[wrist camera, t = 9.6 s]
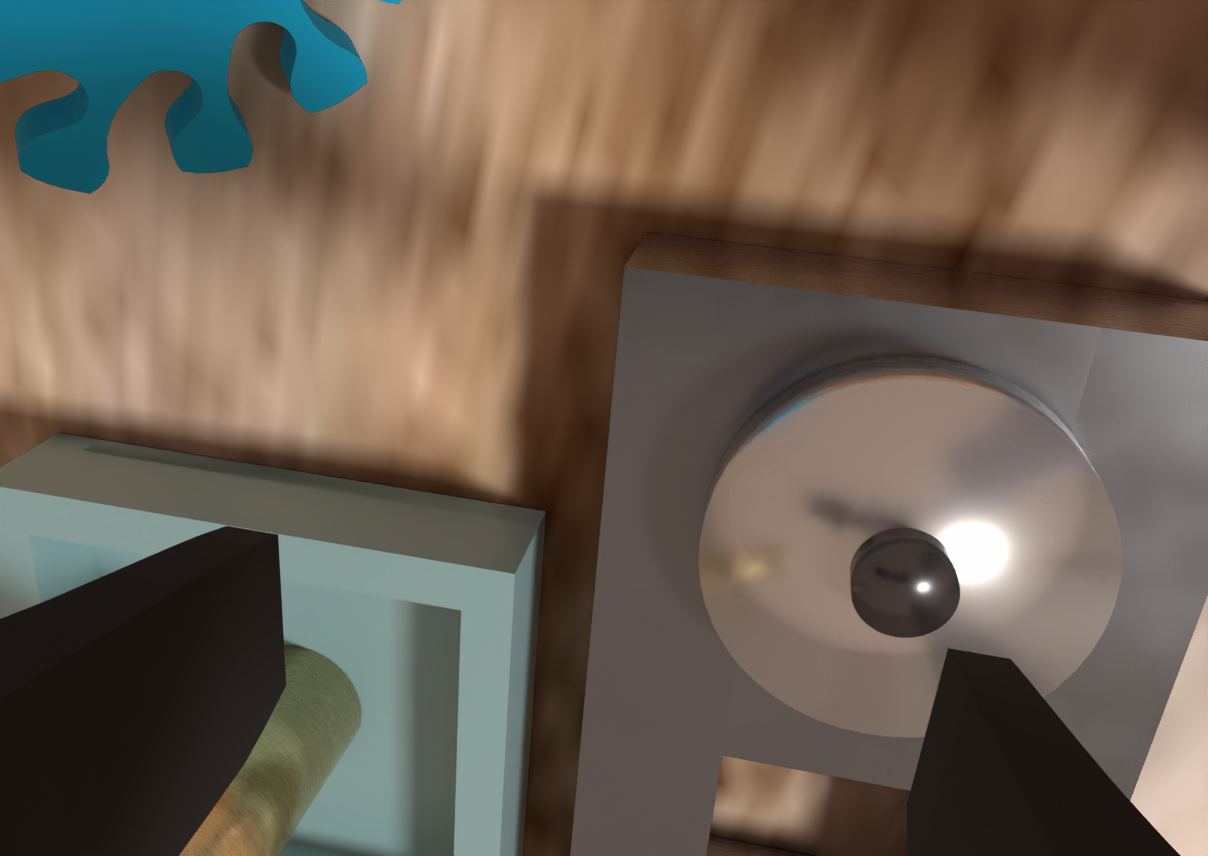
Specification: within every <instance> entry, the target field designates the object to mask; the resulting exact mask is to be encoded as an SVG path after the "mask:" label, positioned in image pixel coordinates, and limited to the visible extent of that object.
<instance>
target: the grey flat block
mask: <svg viewBox="0 0 1208 856" xmlns="http://www.w3.org/2000/svg"><path fill="white" fill-rule="evenodd" d="M1207 595H1208V301H1202V300H1194V299H1186V298H1177V297H1169V296H1161V295H1153V294H1145V293H1137V292H1129V291H1121V290H1112V289H1104V288H1096V287H1088V286H1080V285H1072V284H1064V283H1056V282H1047V281H1039V280H1031V279H1023V278H1015V277H1007V276H999V275H991V274H982V273H974V272H966V271H958V270H950V269H942V268H934V267H926V266H917V265H909V264H901V263H893V262H885V261H877V260H869V259H860V258H852V257H844V256H836V255H828V254H820V253H812V252H804V251H795V250H787V249H779V248H771V247H763V246H755V245H747V244H739V243H730V242H722V241H714V240H706V239H698V238H690V237H682V236H674V235H665V234H657V233H649V232H646V234H645V235H644V237H643V238H642V240H641V241H640V243H639V245H638V246H637V248H636V249H635V251H634V252H633V254H632V255H631V257H630V258H629V260H628V262H627V263H626V265H625V266H624V274H623V285H622V296H621V307H620V318H619V329H618V340H617V351H616V362H615V373H614V384H613V395H612V405H611V416H610V427H609V438H608V449H607V460H606V471H605V482H604V493H603V504H602V515H601V526H600V536H599V547H598V558H597V569H596V580H595V591H594V602H593V613H592V624H591V635H590V646H589V657H588V667H587V678H586V689H585V700H584V711H583V722H582V733H581V744H580V755H579V766H578V777H577V788H576V799H575V809H574V820H573V831H572V842H571V853H570V856H811V855H806V854H801V853H795V852H790V851H785V850H780V849H775V848H770V847H765V846H760V845H755V844H750V843H745V842H740V841H735V840H730V839H725V838H720V837H715V836H710V829H711V823H712V817H713V811H714V804H715V798H716V792H717V786H718V780H719V774H720V768H721V762H722V756H728V757H733V758H739V759H744V760H749V761H755V762H760V763H765V764H771V765H776V766H781V767H787V768H792V769H797V770H802V771H808V772H813V773H818V774H824V775H829V776H834V777H840V778H845V779H850V780H856V781H861V782H866V783H872V784H877V785H882V786H888V787H893V788H898V789H904V790H909V791H911V787H912V783H913V779H914V776H915V772H916V768H917V764H918V760H919V757H920V753H921V749H922V745H923V741H924V738H925V734H926V730H927V726H928V722H929V718H930V715H931V711H932V707H933V703H934V699H935V696H936V692H937V688H938V684H939V680H940V677H941V673H942V669H943V665H944V661H945V658H946V654H947V650H948V648H950V649H956V650H962V651H968V652H974V653H979V654H985V655H991V656H997V657H1003V658H1009V659H1011V660H1012V661H1013V662H1014V663H1015V664H1016V666H1017V667H1018V668H1019V669H1020V670H1021V671H1022V673H1023V674H1024V675H1025V676H1026V677H1027V679H1028V680H1029V681H1030V682H1031V683H1032V685H1033V686H1034V687H1035V688H1036V690H1037V691H1038V692H1039V693H1040V694H1041V696H1042V697H1043V698H1044V699H1045V701H1046V702H1047V703H1048V704H1049V706H1050V707H1051V708H1052V709H1053V710H1054V712H1055V713H1056V714H1057V715H1058V717H1059V718H1060V719H1061V720H1062V721H1063V723H1064V724H1065V725H1066V726H1067V728H1068V729H1069V730H1070V731H1071V732H1072V734H1073V735H1074V736H1075V737H1076V738H1077V740H1078V741H1079V742H1080V743H1081V744H1082V746H1083V747H1084V748H1085V749H1086V750H1087V752H1088V753H1089V754H1090V755H1091V756H1092V758H1093V759H1094V760H1095V761H1096V762H1097V763H1098V765H1099V766H1100V767H1101V768H1102V769H1103V771H1104V772H1105V773H1106V774H1107V775H1108V776H1109V778H1110V779H1111V780H1112V781H1113V782H1114V783H1115V784H1116V786H1117V787H1118V788H1119V789H1120V790H1121V791H1122V793H1123V794H1124V795H1125V796H1126V797H1127V798H1128V799H1129V800H1130V799H1131V797H1132V794H1133V791H1134V789H1135V786H1136V784H1137V781H1138V778H1139V776H1140V773H1141V770H1142V768H1143V765H1144V762H1145V760H1146V757H1147V754H1148V752H1149V749H1150V746H1151V744H1152V741H1153V738H1154V736H1155V733H1156V731H1157V728H1158V725H1159V723H1160V720H1161V717H1162V715H1163V712H1164V709H1165V707H1166V704H1167V701H1168V699H1169V696H1170V693H1171V691H1172V688H1173V685H1174V683H1175V680H1176V678H1177V675H1178V672H1179V670H1180V667H1181V664H1182V662H1183V659H1184V656H1185V654H1186V651H1187V648H1188V646H1189V643H1190V640H1191V638H1192V635H1193V632H1194V630H1195V627H1196V625H1197V622H1198V619H1199V617H1200V614H1201V611H1202V609H1203V606H1204V603H1205V601H1206V598H1207Z"/></svg>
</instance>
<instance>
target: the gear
mask: <svg viewBox="0 0 1208 856" xmlns="http://www.w3.org/2000/svg"><path fill="white" fill-rule="evenodd" d="M380 1H383V2H387V3H393V4H399V3H400V2H401V1H402V0H380ZM257 22H272V23H276V24H278V25H280V26H283V27H284V28H285V31H284V35H283V40H282V44H281V48H280V56H279V58H280V65H281V67H282V70H283V72H284V75H285V77H286V79H287V82H288V84H289V86H290V89H291V91H292V94H293V96H294V98H295V100H296V101H297V102H298V104H299V105H300V106H302V107H303V108H304V109H305V110H307V111H309V112H311V113H313V112H317V111H320V110H324V109H327V108H329V107H331V106H333V105H335V104H337V103H339V102H341V101H342V100H344V99H345V98H347V97H349V96H350V95H352V94H353V93H354V92H356V91H357V90H358V89H360V88H361V87H362V86H364V85H365V84H366V83H367V74H366V71H365V68H364V65H363V63H362V61H361V59H360V57H359V55H358V53H357V51H356V49H355V47H354V45H353V43H352V41H351V40H350V38H349V37H348V35H347V34H346V33H345V32H344V31H343V30H342V29H341V28H339V27H338V26H336V25H334V24H332V23H330V22H328V21H326V20H325V19H323V18H322V17H321V16H319V15H318V14H317V13H315V12H314V11H313V10H312V9H311V8H310V7H309V6H308V5H307V4H306V3H305V2H304V1H303V0H0V83H2V82H4V81H7V80H9V79H13V78H16V77H19V76H23V75H26V74H29V73H33V72H37V71H42V70H54V71H58V72H63V73H65V74H67V75H70V76H71V77H73V78H74V79H76V80H77V81H78V82H79V83H80V84H79V86H78V87H77V88H76V90H75V91H73V92H72V93H71V94H69V95H67V96H65V97H62V98H59V99H56V100H52V101H49V102H46V103H43V104H39V105H37V106H35V107H32V108H30V109H29V110H28V111H26V112H25V113H24V114H23V115H22V116H21V117H20V118H19V120H18V122H17V124H16V128H15V138H16V144H17V151H18V157H19V163H20V169H21V171H22V172H24V173H26V174H27V175H29V176H31V177H33V178H34V179H37V180H39V181H42V182H45V183H47V184H50V185H54V186H57V187H61V188H65V189H69V190H74V191H79V192H84V193H89V194H90V193H92V192H93V191H95V190H97V189H98V188H99V187H100V186H101V185H102V184H103V183H104V182H105V180H106V177H107V175H108V171H109V162H108V157H107V136H108V132H109V128H110V124H111V122H112V120H113V118H114V116H115V114H116V112H117V110H118V108H119V107H120V106H121V104H122V103H123V102H124V100H125V99H126V98H127V97H128V95H129V94H130V93H131V92H132V91H133V90H134V89H135V88H136V87H137V86H138V85H139V84H140V83H141V82H142V81H143V80H144V79H145V78H146V77H147V76H149V75H151V74H153V73H155V72H159V71H163V70H173V71H179V72H182V73H184V74H187V75H189V76H190V77H191V78H193V80H192V83H191V84H190V86H189V87H188V88H187V89H186V90H185V92H184V93H183V94H182V95H181V96H180V97H179V98H178V99H177V100H176V101H175V102H174V103H173V104H172V106H171V107H170V108H169V110H168V112H167V115H166V119H165V127H166V132H167V135H168V139H169V142H170V146H171V149H172V152H173V156H174V159H175V161H176V163H177V165H178V167H179V168H180V169H181V170H182V171H185V172H193V173H213V172H222V171H228V170H233V169H238V168H243V167H247V166H248V164H249V163H250V161H251V158H252V154H253V147H252V142H251V139H250V136H249V133H248V131H247V128H246V125H245V122H244V120H243V117H242V115H241V112H240V110H239V108H238V107H237V105H236V104H235V103H234V102H233V100H232V99H231V98H230V96H229V94H228V87H227V75H228V66H229V61H230V55H231V50H232V45H233V42H234V40H235V38H236V36H237V35H238V33H239V32H240V31H241V30H242V29H244V28H245V27H247V26H249V25H251V24H253V23H257Z"/></svg>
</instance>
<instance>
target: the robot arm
mask: <svg viewBox="0 0 1208 856" xmlns="http://www.w3.org/2000/svg"><path fill="white" fill-rule="evenodd" d="M285 687H286V670H285V652H284V633H283V615H282V596H281V578H280V559H279V541H278V534H272V533H266V532H260V531H254V530H248V529H243V528H237V527H231V526H225V527H222V528H219V529H216V530H213V531H210V532H207V533H204V534H202V535H199V536H196V537H194V538H191V539H189V540H186V541H184V542H181V543H179V544H177V545H174V546H172V547H169V548H167V549H165V550H162V551H160V552H158V553H155V554H153V555H151V556H149V557H146V558H144V559H142V560H139V561H137V562H135V563H132V564H130V565H128V566H126V567H123V568H121V569H119V570H116V571H114V572H112V573H109V574H107V575H105V576H102V577H100V578H98V579H96V580H93V581H91V582H89V583H86V584H84V585H82V586H79V587H77V588H75V589H72V590H70V591H68V592H65V593H63V594H61V595H58V596H56V597H54V598H51V599H49V600H47V601H44V602H42V603H39V604H37V605H34V606H32V607H29V608H27V609H24V610H22V611H19V612H16V613H14V614H11V615H9V616H6V617H4V618H1V619H0V856H179V855H180V854H181V852H182V851H183V849H184V848H185V847H186V845H187V844H188V843H189V841H190V840H191V838H192V837H193V836H194V834H195V833H196V832H197V830H198V829H199V828H200V826H201V825H202V823H203V822H204V821H205V819H206V818H207V816H208V815H209V814H210V812H211V811H212V809H213V808H214V807H215V805H216V804H217V802H218V801H219V800H220V798H221V797H222V795H223V794H224V793H225V791H226V790H227V788H228V787H229V786H230V784H231V783H232V781H233V780H234V778H235V777H236V776H237V774H238V773H239V771H240V770H241V768H242V767H243V765H244V764H245V762H246V761H247V759H248V757H249V755H250V753H251V752H252V750H253V748H254V746H255V744H256V743H257V741H258V739H259V737H260V735H261V734H262V732H263V730H264V728H265V726H266V724H267V722H268V720H269V718H270V716H271V715H272V713H273V711H274V709H275V707H276V705H277V703H278V701H279V699H280V697H281V695H282V693H283V691H284V689H285ZM907 816H908V854H909V856H1180V855H1179V854H1178V853H1177V852H1176V851H1175V850H1174V848H1173V847H1172V846H1171V845H1170V844H1169V843H1168V842H1167V841H1166V840H1165V839H1164V838H1163V837H1162V836H1161V835H1160V834H1159V832H1158V831H1157V830H1156V829H1155V828H1154V827H1153V826H1152V825H1151V824H1150V823H1149V822H1148V820H1147V819H1146V818H1145V817H1144V816H1143V815H1142V814H1141V813H1140V812H1139V811H1138V809H1137V808H1136V807H1135V806H1134V805H1133V804H1132V803H1131V802H1130V800H1129V799H1128V798H1127V797H1126V796H1125V795H1124V794H1123V793H1122V791H1121V790H1120V789H1119V788H1118V787H1117V786H1116V784H1115V783H1114V782H1113V781H1112V780H1111V779H1110V778H1109V776H1108V775H1107V774H1106V773H1105V772H1104V771H1103V769H1102V768H1101V767H1100V766H1099V765H1098V763H1097V762H1096V761H1095V760H1094V759H1093V758H1092V756H1091V755H1090V754H1089V753H1088V752H1087V750H1086V749H1085V748H1084V747H1083V746H1082V744H1081V743H1080V742H1079V741H1078V740H1077V738H1076V737H1075V736H1074V735H1073V734H1072V732H1071V731H1070V730H1069V729H1068V728H1067V726H1066V725H1065V724H1064V723H1063V721H1062V720H1061V719H1060V718H1059V717H1058V715H1057V714H1056V713H1055V712H1054V710H1053V709H1052V708H1051V707H1050V706H1049V704H1048V703H1047V702H1046V701H1045V699H1044V698H1043V697H1042V696H1041V694H1040V693H1039V692H1038V691H1037V690H1036V688H1035V687H1034V686H1033V685H1032V683H1031V682H1030V681H1029V680H1028V679H1027V677H1026V676H1025V675H1024V674H1023V673H1022V671H1021V670H1020V669H1019V668H1018V667H1017V666H1016V664H1015V663H1014V662H1013V661H1012V660H1011V659H1009V658H1003V657H997V656H991V655H985V654H979V653H974V652H968V651H962V650H956V649H950V648H948V650H947V654H946V658H945V661H944V665H943V669H942V673H941V677H940V680H939V684H938V688H937V692H936V696H935V699H934V703H933V707H932V711H931V715H930V718H929V722H928V726H927V730H926V734H925V738H924V741H923V745H922V749H921V753H920V757H919V760H918V764H917V768H916V772H915V776H914V779H913V783H912V787H911V791H910V795H909V798H908V802H907Z"/></svg>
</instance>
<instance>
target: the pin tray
mask: <svg viewBox="0 0 1208 856" xmlns="http://www.w3.org/2000/svg"><path fill="white" fill-rule="evenodd" d="M545 519H546V511H541V510H535V509H529V508H523V507H516V506H510V505H504V504H498V503H491V502H485V501H479V500H473V499H467V498H460V497H454V496H448V495H442V494H435V493H429V492H423V491H417V490H411V489H404V488H398V487H392V486H386V485H379V484H373V483H367V482H361V481H355V480H348V479H342V478H336V477H330V476H323V475H317V474H311V473H305V472H299V471H292V470H286V469H280V468H274V467H267V466H261V465H255V464H249V463H243V462H236V461H230V460H224V459H218V458H211V457H205V456H199V455H193V454H187V453H180V452H174V451H168V450H162V449H155V448H149V447H143V446H137V445H131V444H124V443H118V442H112V441H106V440H99V439H93V438H87V437H81V436H75V435H68V434H62V433H57V434H55V435H54V436H52V437H50V438H49V439H47V440H45V441H44V442H42V443H40V444H39V445H37V446H35V447H34V448H32V449H30V450H29V451H27V452H25V453H24V454H22V455H20V456H19V457H17V458H15V459H14V460H12V461H10V462H9V463H7V464H5V465H4V466H2V467H0V618H4V617H6V616H9V615H11V614H14V613H16V612H19V611H22V610H24V609H27V608H29V607H32V606H34V605H37V604H39V603H42V602H44V601H47V600H49V599H51V598H54V597H56V596H58V595H61V594H63V593H65V592H68V591H70V590H72V589H75V588H77V587H79V586H82V585H84V584H86V583H89V582H91V581H93V580H96V579H98V578H100V577H102V576H105V575H107V574H109V573H112V572H114V571H116V570H119V569H121V568H123V567H126V566H128V565H130V564H132V563H135V562H137V561H139V560H142V559H144V558H146V557H149V556H151V555H153V554H155V553H158V552H160V551H162V550H165V549H167V548H169V547H172V546H174V545H177V544H179V543H181V542H184V541H186V540H189V539H191V538H194V537H196V536H199V535H202V534H204V533H207V532H210V531H213V530H216V529H219V528H222V527H225V526H231V527H237V528H243V529H248V530H254V531H260V532H266V533H272V534H278V541H279V559H280V578H281V596H282V615H283V633H284V645H293V646H299V647H303V648H306V649H309V650H312V651H314V652H316V653H319V654H321V655H322V656H324V657H326V658H327V659H329V660H330V661H332V662H333V663H334V664H335V665H337V666H338V667H339V668H340V669H341V670H342V671H343V672H344V673H345V675H346V676H347V677H348V678H349V680H350V681H351V683H352V684H353V686H354V688H355V690H356V692H357V694H358V697H359V700H360V704H361V711H362V717H361V724H360V727H359V730H358V732H357V734H356V736H355V737H354V739H353V740H352V742H351V744H350V745H349V747H348V748H347V750H346V751H345V753H344V754H343V756H342V757H341V759H340V761H339V762H338V764H337V765H336V767H335V768H334V770H333V771H332V773H331V774H330V776H329V778H328V779H327V781H326V782H325V784H324V785H323V787H322V788H321V790H320V791H319V793H318V795H317V796H316V798H315V799H314V801H313V802H312V804H311V805H310V807H309V808H308V810H307V812H306V813H305V815H304V816H303V818H302V819H301V821H300V822H299V824H298V825H297V827H296V829H295V830H294V832H293V833H292V835H291V836H290V838H289V839H288V841H287V842H286V844H285V846H284V847H283V849H282V850H281V852H280V853H279V855H278V856H523V849H524V834H525V819H526V804H527V789H528V774H529V759H530V744H531V729H532V714H533V699H534V684H535V669H536V654H537V639H538V624H539V609H540V594H541V579H542V564H543V549H544V534H545Z"/></svg>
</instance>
